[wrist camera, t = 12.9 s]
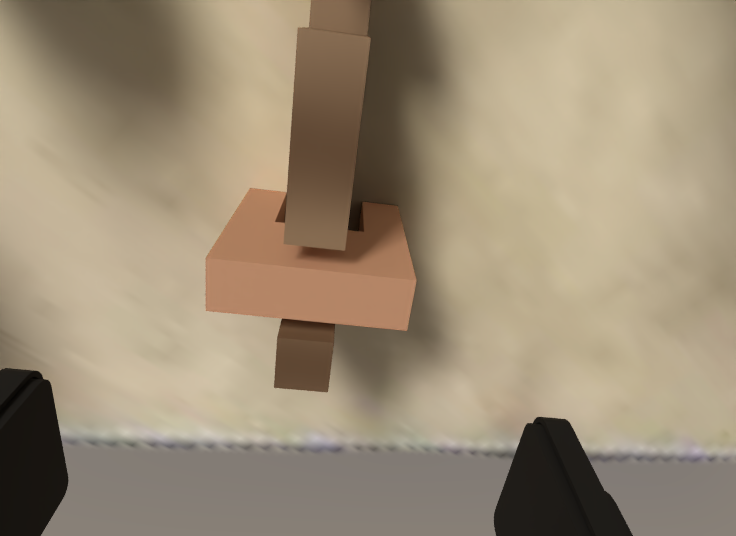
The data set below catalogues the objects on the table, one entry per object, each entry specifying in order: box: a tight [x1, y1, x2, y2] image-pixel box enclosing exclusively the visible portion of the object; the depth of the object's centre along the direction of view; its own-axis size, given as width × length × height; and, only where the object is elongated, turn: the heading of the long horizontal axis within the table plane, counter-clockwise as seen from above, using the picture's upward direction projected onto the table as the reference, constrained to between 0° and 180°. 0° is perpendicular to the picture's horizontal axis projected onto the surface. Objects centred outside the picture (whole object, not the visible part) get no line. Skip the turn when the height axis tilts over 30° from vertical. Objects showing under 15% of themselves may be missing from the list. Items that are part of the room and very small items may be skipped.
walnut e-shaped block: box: [274, 0, 371, 392], centre depth 19 cm, size 18×2×8 cm, turn 173°
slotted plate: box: [206, 188, 417, 331], centre depth 21 cm, size 2×7×8 cm, turn 83°
